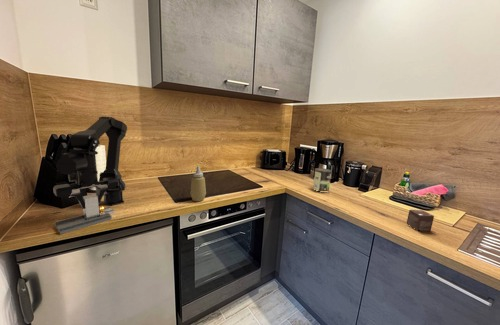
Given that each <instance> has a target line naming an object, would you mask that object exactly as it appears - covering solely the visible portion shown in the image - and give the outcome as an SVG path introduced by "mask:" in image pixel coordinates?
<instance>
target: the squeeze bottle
mask: <svg viewBox="0 0 500 325" xmlns="http://www.w3.org/2000/svg"><path fill="white" fill-rule="evenodd" d="M190 183H191V184H190V193H189V195H190V197H191V200H192V201H193V202H203V201H204V200H205V197H206V195H207V189H206V187H207V186H206V178H205V177H204V173H203V172H202V171H201V166H200V165H198V166H196V170H195V172H193V176H192V177H191V182H190Z"/></svg>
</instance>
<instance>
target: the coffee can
mask: <svg viewBox="0 0 500 325" xmlns="http://www.w3.org/2000/svg"><path fill="white" fill-rule="evenodd" d="M332 172H333V171H332V169H329V168H323V167H319V168H318V167H317V168H314V178H313V185H312V190H313V189H315V190H318V191H329V192H330V184H331V178H332Z"/></svg>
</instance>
